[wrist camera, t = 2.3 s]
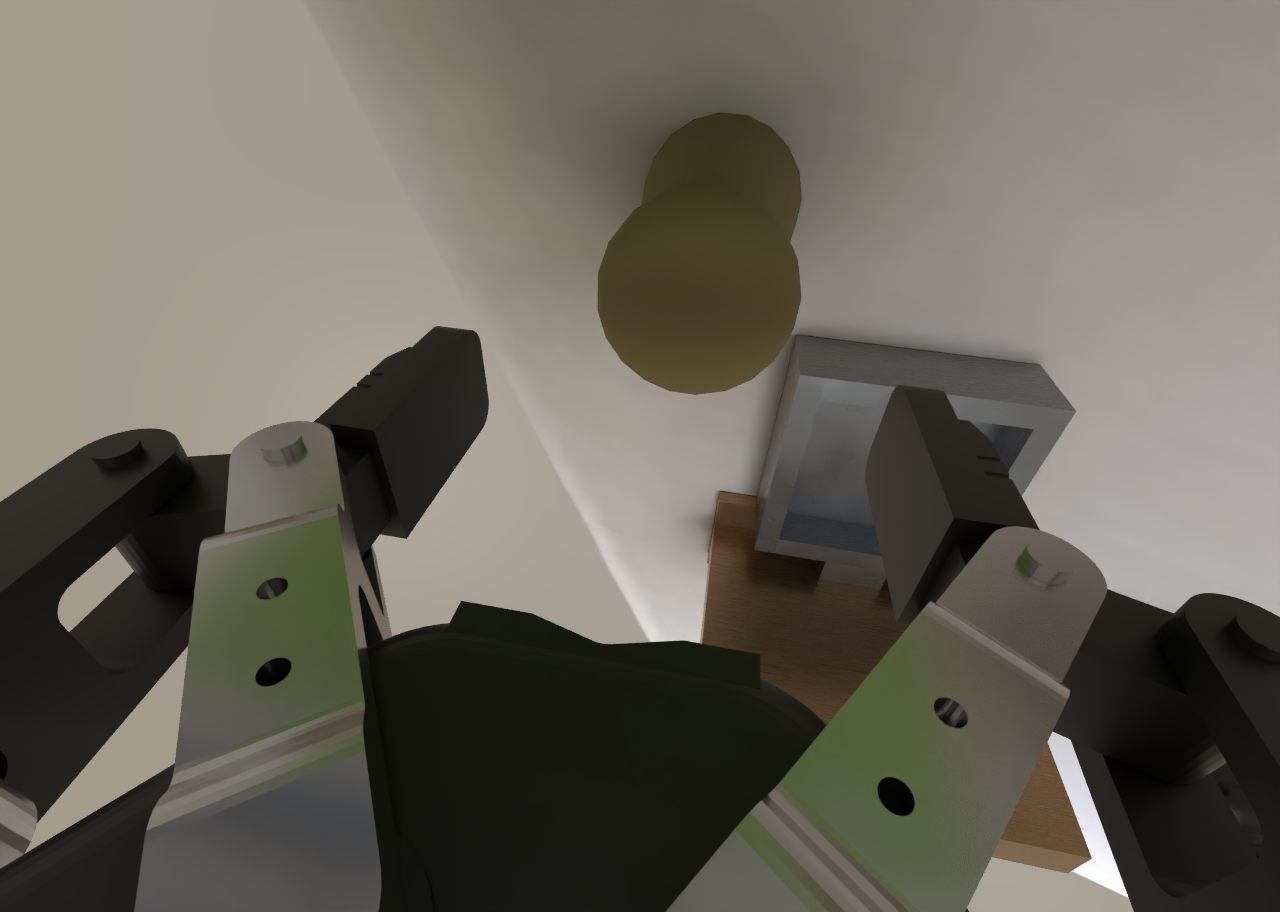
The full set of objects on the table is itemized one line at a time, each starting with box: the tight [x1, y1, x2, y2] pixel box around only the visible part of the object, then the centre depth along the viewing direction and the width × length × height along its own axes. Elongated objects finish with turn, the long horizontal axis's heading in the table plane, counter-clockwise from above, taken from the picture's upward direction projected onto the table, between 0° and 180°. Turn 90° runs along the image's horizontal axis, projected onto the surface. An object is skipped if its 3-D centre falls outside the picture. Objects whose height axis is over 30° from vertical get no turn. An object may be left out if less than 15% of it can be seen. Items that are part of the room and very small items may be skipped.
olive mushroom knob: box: [598, 113, 802, 395], centre depth 17 cm, size 6×6×11 cm
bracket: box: [700, 335, 1092, 873], centre depth 23 cm, size 15×14×14 cm
